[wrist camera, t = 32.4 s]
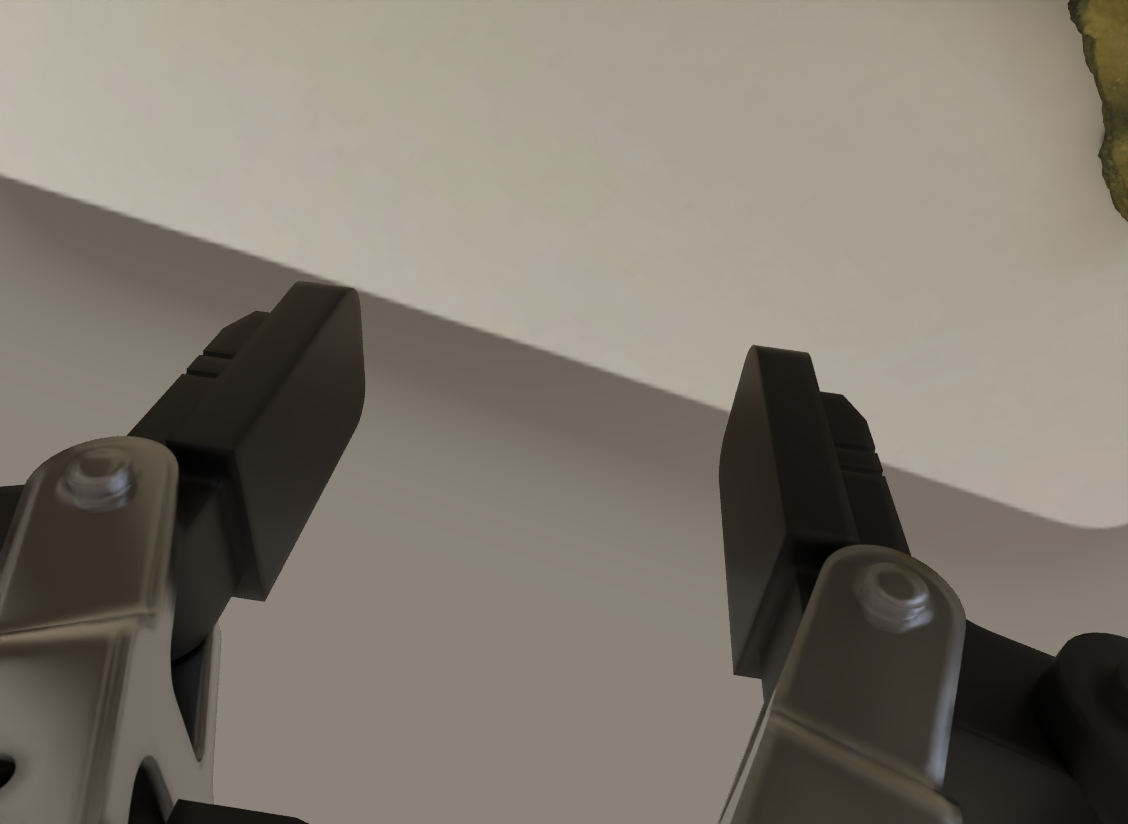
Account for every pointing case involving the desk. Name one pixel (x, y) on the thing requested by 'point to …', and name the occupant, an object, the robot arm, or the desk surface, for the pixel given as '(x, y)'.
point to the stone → (1109, 84)
